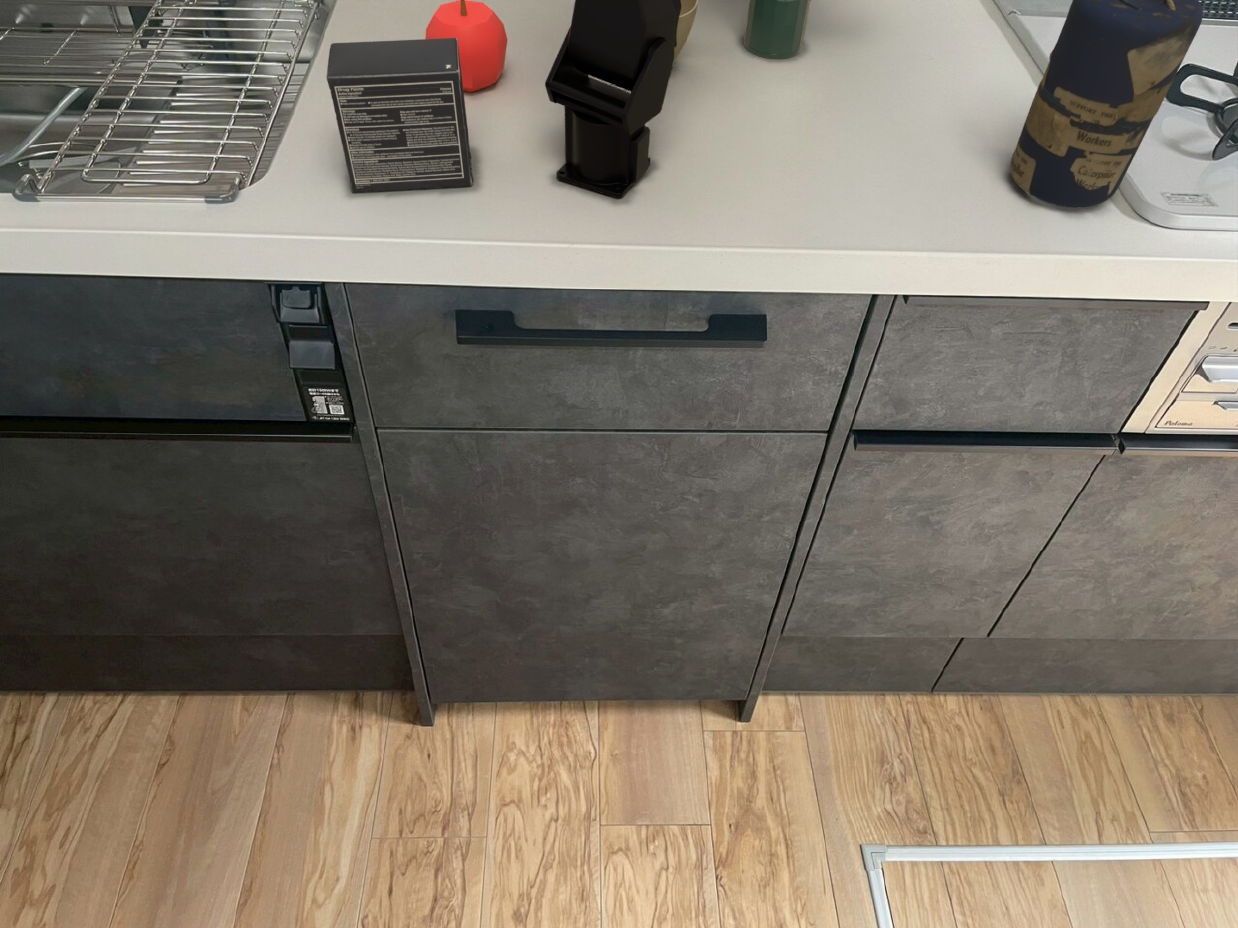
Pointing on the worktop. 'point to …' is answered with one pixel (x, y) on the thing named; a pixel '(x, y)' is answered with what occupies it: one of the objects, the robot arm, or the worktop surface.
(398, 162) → the small box
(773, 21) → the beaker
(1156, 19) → the canister
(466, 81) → the apple
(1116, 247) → the worktop surface
